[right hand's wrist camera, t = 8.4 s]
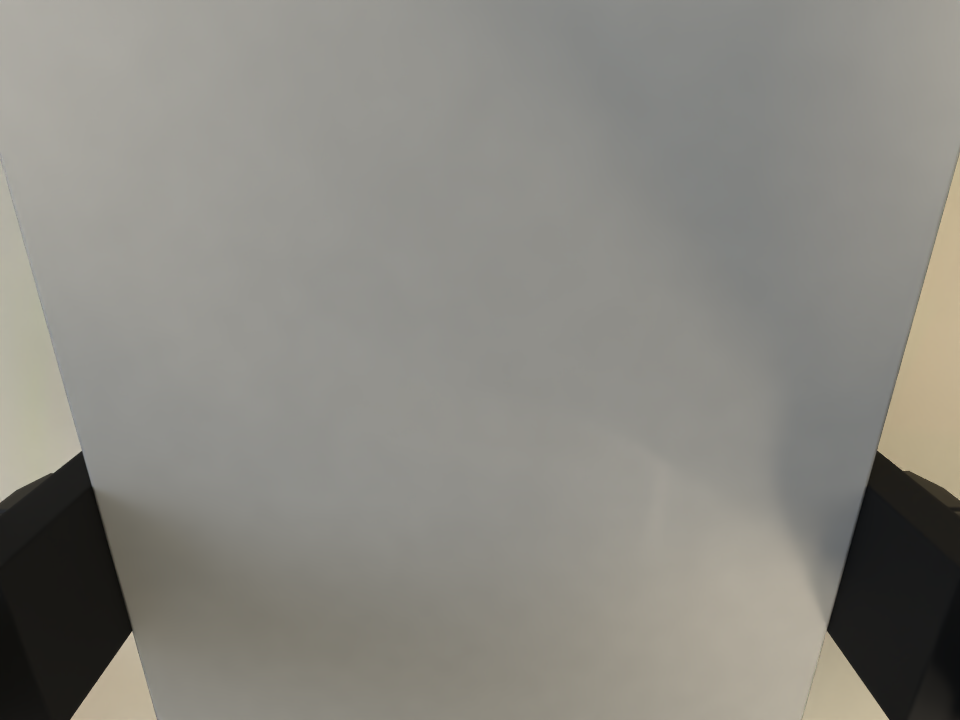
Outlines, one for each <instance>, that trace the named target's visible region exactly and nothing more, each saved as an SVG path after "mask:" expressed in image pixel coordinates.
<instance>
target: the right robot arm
mask: <svg viewBox="0 0 960 720" xmlns="http://www.w3.org/2000/svg"><path fill="white" fill-rule="evenodd" d="M827 631H828V633H829V634H830V636H831V637H832V638H833V640H834V641H835V643H836V644H837V646H838V647H839V648H840V650H841V651H842V653H843V654H844V656H845V657H846V658H847V660H848V661H849V663H850V664H851V666H852V667H853V668H854V670H855V671H856V673H857V674H858V676H859V677H860V678H861V680H862V681H863V683H864V684H865V686H866V687H867V688H868V690H869V691H870V693H871V694H872V696H873V697H874V698H875V700H876V701H877V703H878V704H879V706H880V707H881V708H882V710H883V711H884V713H885V714H886V716H887V717H888V718H889V720H960V500H958V499H957V498H956V497H954V496H953V495H952V494H950V493H949V492H948V491H947V490H945V489H944V488H942V487H940V486H938V485H936V484H934V483H932V482H930V481H928V480H926V479H924V478H922V477H920V476H918V475H916V474H914V473H912V472H910V471H902V470H901V469H900V468H898V467H897V466H896V465H895V464H893V463H892V462H891V461H889V460H888V459H887V458H886V457H884V456H883V455H882V454H881V453H879V452H878V451H877V452H876V455H875V459H874V462H873V466H872V470H871V473H870V477H869V480H868V484H867V488H866V491H865V495H864V498H863V502H862V506H861V509H860V513H859V516H858V520H857V524H856V527H855V531H854V534H853V538H852V541H851V545H850V549H849V552H848V556H847V559H846V563H845V567H844V570H843V574H842V577H841V581H840V585H839V588H838V592H837V595H836V599H835V603H834V606H833V610H832V613H831V617H830V621H829V624H828V628H827ZM131 632H132V627H131V624H130V620H129V617H128V613H127V610H126V606H125V602H124V599H123V595H122V592H121V588H120V584H119V581H118V577H117V574H116V570H115V567H114V563H113V559H112V556H111V552H110V549H109V545H108V542H107V538H106V534H105V531H104V527H103V524H102V520H101V516H100V513H99V509H98V506H97V502H96V499H95V495H94V491H93V488H92V484H91V481H90V477H89V473H88V470H87V466H86V463H85V459H84V456H83V452H82V451H81V452H80V453H79V454H77V455H76V456H75V457H74V458H72V459H71V460H70V461H69V462H67V463H66V464H65V465H64V466H62V467H61V468H60V469H58V470H57V471H56V472H55V473H50V474H48V475H46V476H44V477H42V478H40V479H38V480H36V481H34V482H32V483H30V484H28V485H26V486H24V487H22V488H20V489H18V490H16V491H15V492H14V493H12V494H11V495H10V496H8V497H7V498H6V499H5V500H3V501H2V502H1V503H0V720H70V719H71V717H72V716H73V715H74V713H75V712H76V710H77V709H78V707H79V706H80V705H81V703H82V702H83V700H84V699H85V697H86V696H87V695H88V693H89V692H90V690H91V689H92V687H93V686H94V685H95V683H96V682H97V680H98V679H99V677H100V676H101V675H102V673H103V672H104V670H105V669H106V667H107V666H108V665H109V663H110V662H111V660H112V659H113V657H114V656H115V655H116V653H117V652H118V650H119V649H120V647H121V646H122V645H123V643H124V642H125V640H126V639H127V638H128V636H129V635H130V633H131Z"/></svg>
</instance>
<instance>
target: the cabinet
mask: <svg viewBox="0 0 960 720" xmlns="http://www.w3.org/2000/svg"><path fill="white" fill-rule="evenodd" d="M959 153H960V0H0V158H1V162H2V166H3V169H4V173H5V176H6V180H7V183H8V187H9V191H10V194H11V198H12V201H13V205H14V209H15V212H16V216H17V219H18V223H19V226H20V230H21V234H22V237H23V241H24V244H25V248H26V251H27V255H28V259H29V262H30V266H31V269H32V273H33V277H34V280H35V284H36V287H37V291H38V294H39V298H40V302H41V305H42V309H43V312H44V316H45V320H46V323H47V327H48V330H49V334H50V337H51V341H52V345H53V348H54V352H55V355H56V359H57V362H58V366H59V370H60V373H61V377H62V380H63V384H64V388H65V391H66V395H67V398H68V402H69V405H70V409H71V413H72V416H73V420H74V423H75V427H76V431H77V434H78V438H79V441H80V445H81V448H82V452H83V456H84V459H85V463H86V466H87V470H88V473H89V477H90V481H91V484H92V488H93V491H94V495H95V499H96V502H97V506H98V509H99V513H100V516H101V520H102V524H103V527H104V531H105V534H106V538H107V542H108V545H109V549H110V552H111V556H112V559H113V563H114V567H115V570H116V574H117V577H118V581H119V584H120V588H121V592H122V595H123V599H124V602H125V606H126V610H127V613H128V617H129V620H130V624H131V627H132V631H133V635H134V638H135V642H136V645H137V649H138V653H139V656H140V660H141V663H142V667H143V670H144V674H145V678H146V681H147V685H148V688H149V692H150V695H151V699H152V703H153V706H154V710H155V713H156V717H157V720H802V718H803V714H804V710H805V707H806V703H807V700H808V696H809V692H810V689H811V685H812V682H813V678H814V674H815V671H816V667H817V664H818V660H819V656H820V653H821V649H822V646H823V642H824V639H825V635H826V631H827V628H828V624H829V621H830V617H831V613H832V610H833V606H834V603H835V599H836V595H837V592H838V588H839V585H840V581H841V577H842V574H843V570H844V567H845V563H846V559H847V556H848V552H849V549H850V545H851V541H852V538H853V534H854V531H855V527H856V524H857V520H858V516H859V513H860V509H861V506H862V502H863V498H864V495H865V491H866V488H867V484H868V480H869V477H870V473H871V470H872V466H873V462H874V459H875V455H876V452H877V448H878V444H879V441H880V437H881V434H882V430H883V427H884V423H885V419H886V416H887V412H888V409H889V405H890V401H891V398H892V394H893V391H894V387H895V383H896V380H897V376H898V373H899V369H900V365H901V362H902V358H903V355H904V351H905V347H906V344H907V340H908V337H909V333H910V329H911V326H912V322H913V319H914V315H915V312H916V308H917V304H918V301H919V297H920V294H921V290H922V286H923V283H924V279H925V276H926V272H927V268H928V265H929V261H930V258H931V254H932V250H933V247H934V243H935V240H936V236H937V232H938V229H939V225H940V222H941V218H942V215H943V211H944V207H945V204H946V200H947V197H948V193H949V189H950V186H951V182H952V179H953V175H954V171H955V168H956V164H957V161H958V157H959Z"/></svg>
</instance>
